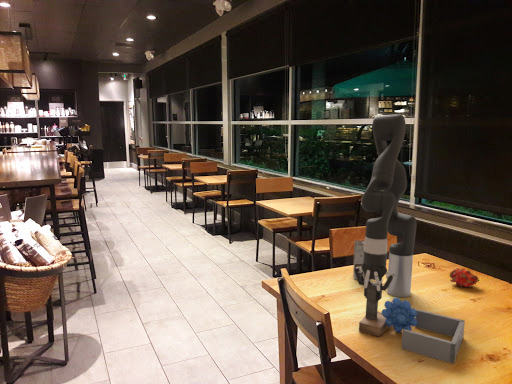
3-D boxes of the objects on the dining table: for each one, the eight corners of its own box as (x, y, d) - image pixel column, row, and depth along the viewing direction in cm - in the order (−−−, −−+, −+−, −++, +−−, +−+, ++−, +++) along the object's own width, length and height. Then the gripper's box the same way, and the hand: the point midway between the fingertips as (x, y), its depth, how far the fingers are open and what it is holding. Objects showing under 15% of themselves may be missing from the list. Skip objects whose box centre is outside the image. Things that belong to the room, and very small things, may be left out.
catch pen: (416, 325, 141) (417, 309, 140) (463, 337, 132) (464, 320, 132) (401, 348, 126) (402, 330, 125) (453, 364, 117) (455, 344, 117)
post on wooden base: (371, 317, 146) (373, 277, 144) (390, 323, 142) (393, 282, 140) (358, 330, 136) (361, 287, 134) (379, 336, 132) (382, 293, 130)
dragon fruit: (445, 286, 181) (475, 294, 177) (449, 281, 174) (480, 289, 170) (448, 268, 184) (478, 275, 180) (452, 262, 177) (483, 270, 173)
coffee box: (368, 280, 183) (370, 245, 181) (353, 279, 185) (355, 244, 182) (367, 273, 192) (368, 240, 190) (353, 272, 193) (354, 239, 191)
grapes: (382, 337, 133) (384, 302, 131) (379, 327, 139) (381, 294, 137) (420, 339, 131) (422, 304, 129) (414, 329, 138) (417, 296, 136)
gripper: (399, 251, 135) (396, 300, 138) (359, 244, 143) (356, 290, 146) (393, 256, 129) (389, 308, 132) (351, 248, 137) (348, 297, 140)
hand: (372, 298), depth 139 cm, fingers closed on post on wooden base, 3 cm apart
